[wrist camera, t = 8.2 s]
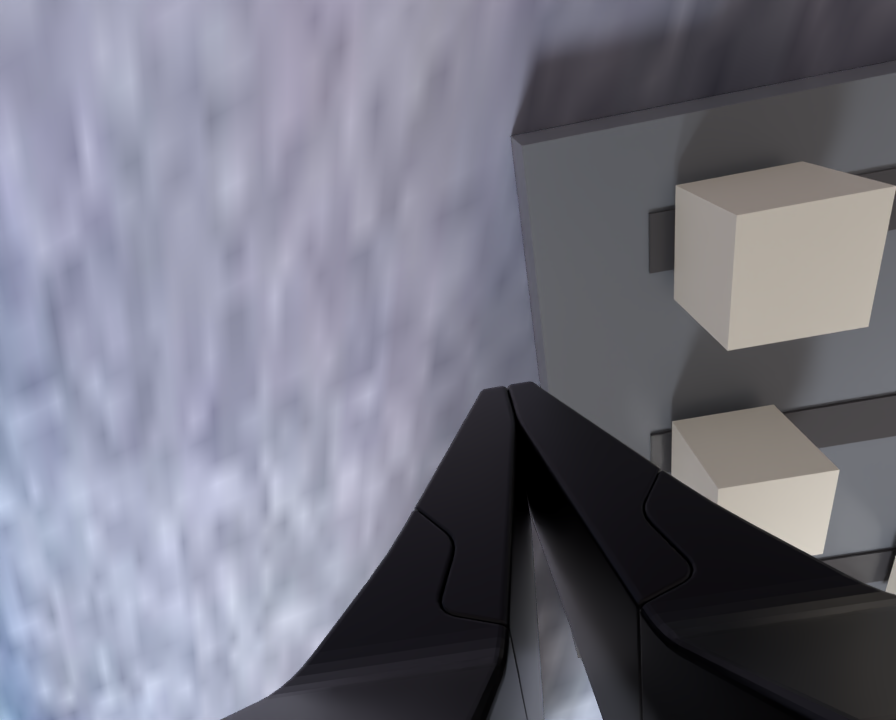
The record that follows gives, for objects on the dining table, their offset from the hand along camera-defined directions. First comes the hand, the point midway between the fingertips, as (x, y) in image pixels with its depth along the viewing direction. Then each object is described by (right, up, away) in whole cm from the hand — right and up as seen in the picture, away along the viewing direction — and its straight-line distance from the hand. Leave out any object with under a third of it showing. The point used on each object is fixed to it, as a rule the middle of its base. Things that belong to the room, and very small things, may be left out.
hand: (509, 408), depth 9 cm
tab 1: (+6, +4, +5) cm, 9 cm away
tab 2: (+7, -2, +8) cm, 11 cm away
